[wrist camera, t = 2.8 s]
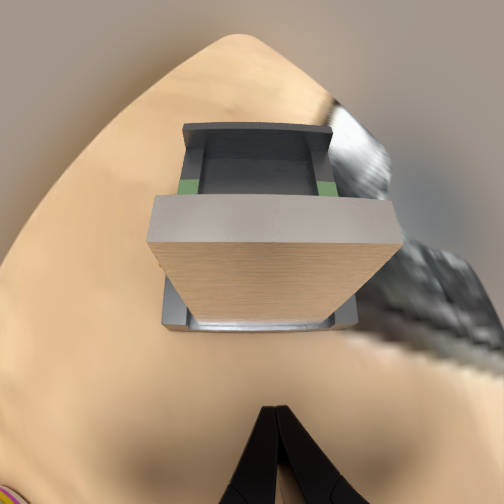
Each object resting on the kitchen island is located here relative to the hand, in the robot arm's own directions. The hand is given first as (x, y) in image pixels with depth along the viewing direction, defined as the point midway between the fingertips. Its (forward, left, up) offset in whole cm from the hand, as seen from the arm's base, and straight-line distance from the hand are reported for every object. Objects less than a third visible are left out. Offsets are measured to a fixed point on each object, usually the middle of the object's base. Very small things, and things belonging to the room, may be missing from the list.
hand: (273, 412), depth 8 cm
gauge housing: (+9, -8, -7) cm, 14 cm away
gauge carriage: (+5, -4, -6) cm, 9 cm away
